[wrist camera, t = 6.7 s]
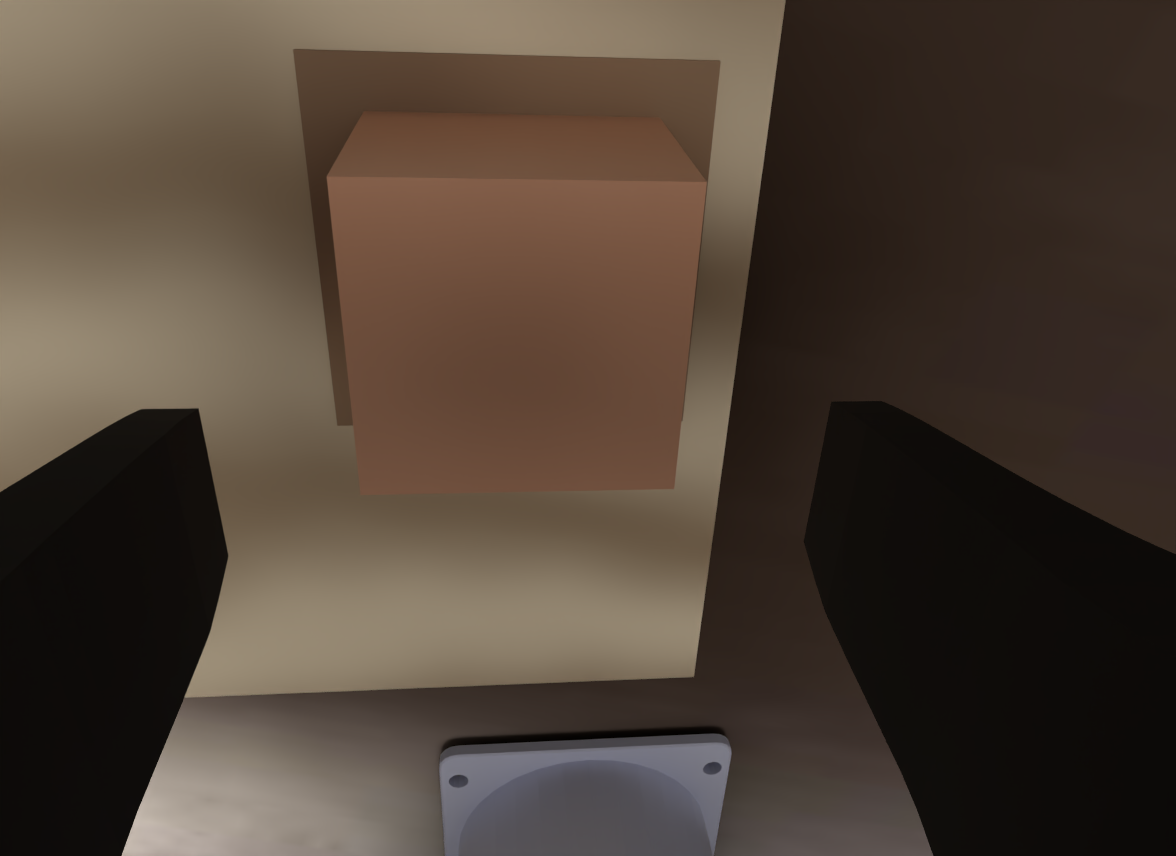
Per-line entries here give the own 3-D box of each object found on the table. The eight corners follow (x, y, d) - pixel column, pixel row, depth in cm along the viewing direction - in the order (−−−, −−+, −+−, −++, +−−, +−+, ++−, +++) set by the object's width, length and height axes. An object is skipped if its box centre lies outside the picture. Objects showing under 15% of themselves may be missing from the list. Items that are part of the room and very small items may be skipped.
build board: (686, 648, 24) (694, 679, 23) (82, 671, 22) (63, 706, 21) (849, -637, 12) (880, -682, 11) (-402, -768, 11) (-491, -833, 10)
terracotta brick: (639, 375, 18) (674, 489, 15) (386, 377, 18) (360, 495, 14) (660, 117, 16) (706, 181, 12) (363, 110, 15) (326, 176, 12)
